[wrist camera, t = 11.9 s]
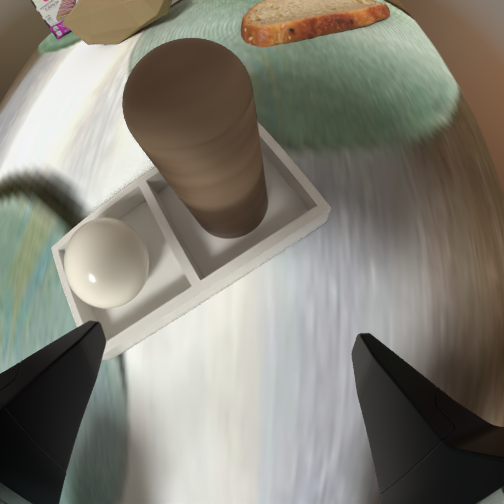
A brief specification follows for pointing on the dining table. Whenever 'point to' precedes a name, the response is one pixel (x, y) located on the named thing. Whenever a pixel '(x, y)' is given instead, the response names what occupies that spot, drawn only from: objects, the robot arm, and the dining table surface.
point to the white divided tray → (193, 247)
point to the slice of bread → (306, 19)
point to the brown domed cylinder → (201, 132)
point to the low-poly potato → (113, 18)
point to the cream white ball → (106, 263)
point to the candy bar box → (55, 14)
